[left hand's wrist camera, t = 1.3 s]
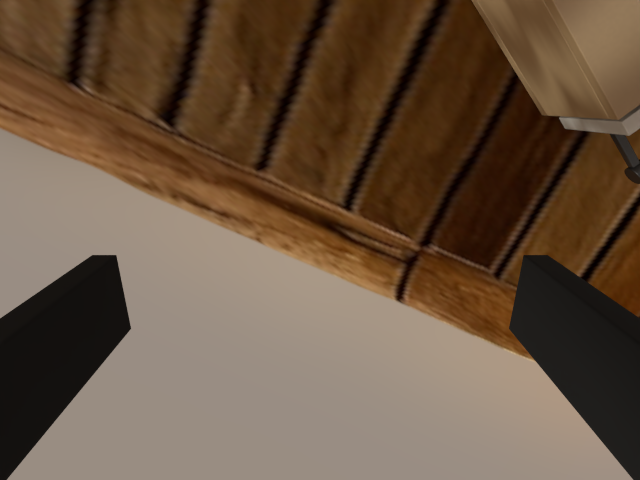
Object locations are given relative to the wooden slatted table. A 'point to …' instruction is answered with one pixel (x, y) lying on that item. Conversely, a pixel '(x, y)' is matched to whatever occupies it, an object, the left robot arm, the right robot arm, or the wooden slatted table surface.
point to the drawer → (613, 135)
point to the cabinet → (571, 53)
